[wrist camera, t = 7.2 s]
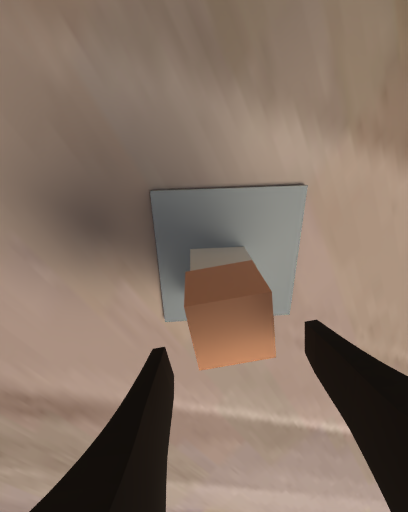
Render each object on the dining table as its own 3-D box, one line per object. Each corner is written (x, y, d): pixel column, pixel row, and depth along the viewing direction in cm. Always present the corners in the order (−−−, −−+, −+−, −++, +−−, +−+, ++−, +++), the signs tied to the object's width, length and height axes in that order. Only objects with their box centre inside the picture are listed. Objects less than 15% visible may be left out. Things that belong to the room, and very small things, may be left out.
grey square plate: (304, 184, 18) (307, 185, 17) (287, 311, 22) (289, 314, 22) (150, 190, 17) (149, 191, 17) (165, 318, 22) (165, 321, 21)
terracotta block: (251, 259, 15) (271, 291, 11) (257, 314, 17) (275, 357, 13) (185, 271, 15) (183, 307, 11) (197, 325, 17) (199, 370, 13)
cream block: (243, 246, 19) (256, 266, 15) (241, 292, 21) (253, 321, 17) (190, 249, 19) (190, 270, 15) (192, 295, 21) (193, 324, 17)
